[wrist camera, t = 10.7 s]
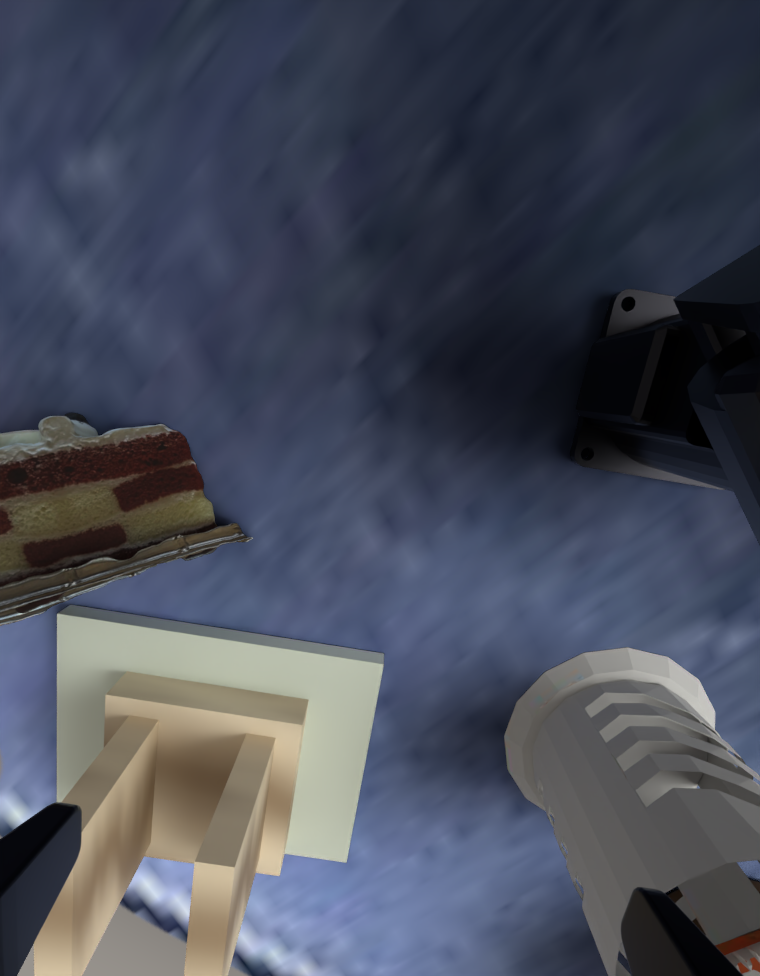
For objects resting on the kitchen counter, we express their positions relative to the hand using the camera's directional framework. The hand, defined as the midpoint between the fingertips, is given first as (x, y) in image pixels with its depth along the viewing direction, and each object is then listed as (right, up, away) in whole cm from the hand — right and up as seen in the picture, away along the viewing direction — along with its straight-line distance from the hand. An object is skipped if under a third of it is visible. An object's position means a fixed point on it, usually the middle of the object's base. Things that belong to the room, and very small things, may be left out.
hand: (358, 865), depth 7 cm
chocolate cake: (-11, +6, +12) cm, 17 cm away
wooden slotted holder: (-7, -6, +13) cm, 16 cm away
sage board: (-7, -6, +14) cm, 16 cm away
